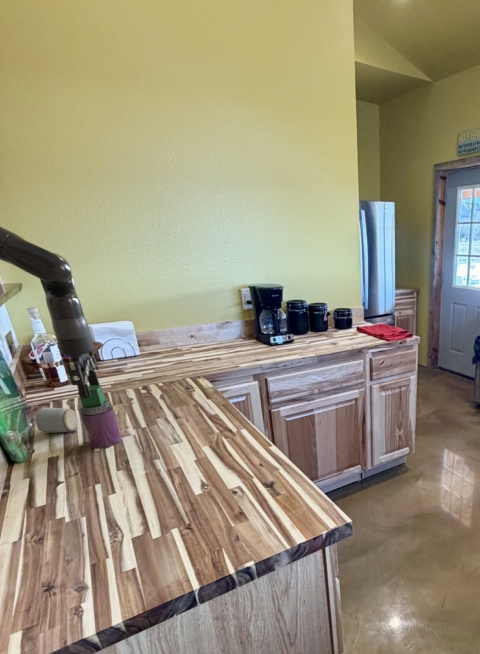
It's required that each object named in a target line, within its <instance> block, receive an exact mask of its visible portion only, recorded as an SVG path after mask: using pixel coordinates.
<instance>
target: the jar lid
mask: <svg viewBox="0 0 480 654" xmlns="http://www.w3.org/2000/svg"><path fill="white" fill-rule="evenodd" d="M105 399H106V400H105V401H104V402H103V404H102V405H97V406H88V407H83V406H82V403H81V402H80V403H79V404H78V411H79V414H80V413H81V414H83V415H94V414H100V413H103V412H106V411H108V410H110V409H111V408H112V407H113V404H112V403H111V400H110V399H109V398H105Z"/></svg>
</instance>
